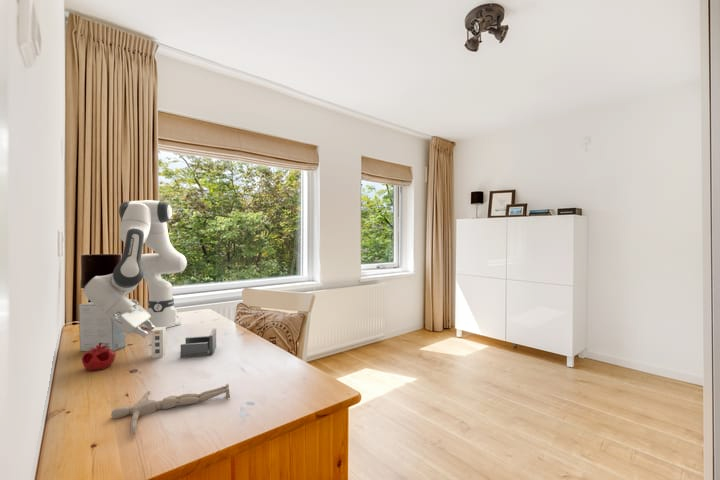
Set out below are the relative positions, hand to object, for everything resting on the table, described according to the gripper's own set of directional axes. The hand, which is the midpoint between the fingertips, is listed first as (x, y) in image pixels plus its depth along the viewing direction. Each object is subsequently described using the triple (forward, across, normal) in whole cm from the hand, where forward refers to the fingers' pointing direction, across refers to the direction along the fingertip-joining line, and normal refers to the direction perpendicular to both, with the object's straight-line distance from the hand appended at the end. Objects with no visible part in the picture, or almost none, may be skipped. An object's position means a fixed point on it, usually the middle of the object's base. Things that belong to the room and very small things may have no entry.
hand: (150, 332), depth 142 cm
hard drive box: (-9, +16, +23) cm, 30 cm away
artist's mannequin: (+22, -48, -6) cm, 53 cm away
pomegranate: (-3, -8, +18) cm, 20 cm away
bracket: (+20, 0, -6) cm, 20 cm away
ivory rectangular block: (+9, 0, +5) cm, 10 cm away
